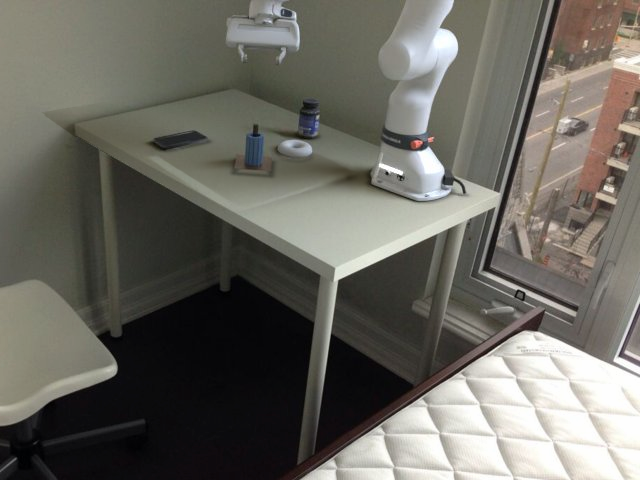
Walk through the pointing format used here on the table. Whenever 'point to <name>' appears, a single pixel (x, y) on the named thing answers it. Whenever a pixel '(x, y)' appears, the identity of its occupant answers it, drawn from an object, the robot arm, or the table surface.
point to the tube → (254, 149)
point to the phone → (179, 140)
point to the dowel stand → (263, 167)
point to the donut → (294, 148)
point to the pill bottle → (309, 119)
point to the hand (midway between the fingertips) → (261, 62)
